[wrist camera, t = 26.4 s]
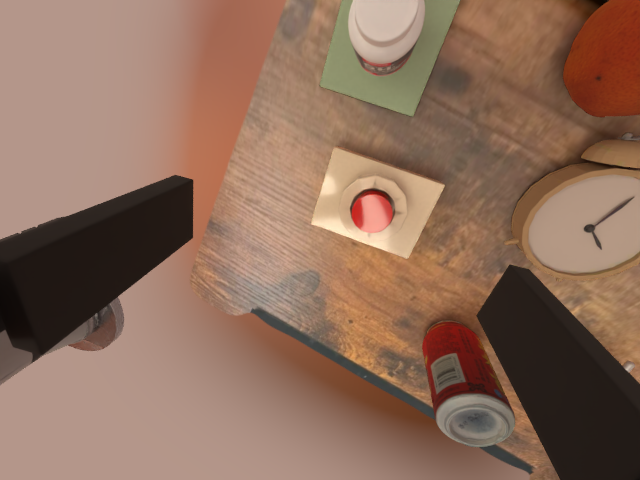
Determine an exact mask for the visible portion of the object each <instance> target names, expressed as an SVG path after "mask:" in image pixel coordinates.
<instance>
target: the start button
mask: <svg viewBox="0 0 640 480" xmlns="http://www.w3.org/2000/svg"><path fill="white" fill-rule="evenodd" d="M392 215H393V212H392V205H391V202H390V200H389V198H388V197H387V196H386V195H385V194H383V193H381V192H379V191H367V192H364V193H362V194H361V195H360V196H359V197H358V198H357V199H356V201H355V203H354V205H353V208H352V220H353V222H354V224H355V225H356V226H357V227H358V228H359V229H360V230H362V231H364V232H367V233H377V232H380V231H382V230H384V229H385V228H386V227H387V226H388V225H389V224H390V222H391V220H392Z"/></svg>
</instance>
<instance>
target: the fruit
mask: <svg viewBox="0 0 640 480" xmlns="http://www.w3.org/2000/svg"><path fill="white" fill-rule="evenodd" d="M563 79H564V83H565V86H566V88H567V90H568V92H569V94H570V96H571V98H572V100H573V101H574V102H575V103H576V104H577V105H578V106H579V107H581V108H582V109H583V110H584V111H585V112H586V113H588V114H590V115H592V116H596V117H605V116H630V115H639V114H640V0H609V1H608V2H606V3H605V4H604V5H602V6H601V7H600V8H598V9H597V10H596V11H595V12H594V13H593V14H592V15H591V16H590V17H589V18H588V19H587V21H586V22H585V24H584V25H583V27H582V28H581V30H580V32H579V33H578V35H577V36H576V38H575V40H574V42H573V44H572V47H571V50H570V54H569V56H568V58H567V60H566V63H565V66H564V74H563Z"/></svg>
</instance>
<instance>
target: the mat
mask: <svg viewBox="0 0 640 480" xmlns="http://www.w3.org/2000/svg"><path fill="white" fill-rule="evenodd" d="M352 2H353V0H342V2H341V5H340V9H339V13H338V17H337V21H336V24H335V28H334V32H333V36H332V40H331V43H330V47H329V51H328V55H327V59H326V62H325V66H324V70H323V74H322V78H321V81H320V85H319V86H320V87H323V88H326V89H329V90H332V91H335V92H338V93H341V94H344V95H347V96H350V97H353V98H356V99H359V100H362V101H365V102H368V103H371V104H374V105H377V106H381V107H384V108H387V109H390V110H393V111H396V112H399V113H402V114H405V115H408V116H411V117H413V115H414V113H415V110H416V108H417V105H418V103H419V100H420V98H421V96H422V93H423V91H424V88H425V86H426V83H427V81H428V78H429V76H430V74H431V71H432V69H433V66H434V64H435V61H436V59H437V56H438V54H439V52H440V49H441V47H442V44H443V42H444V39H445V37H446V34H447V32H448V30H449V27H450V25H451V22H452V20H453V17H454V15H455V12H456V10H457V7H458V5H459V3H460V0H424V3H425V17H424V23H423V27H422V31H421V33H420V36H419V38H418V40H417V42H416V45H415V47H414V49H413V51H412V54H411V56H410V57H409V59H408V61H407V62H406V63H405V65H404V66H403V67H402V68H401V69H400V70H398V71H397V72H395V73H393V74H391V75H388V76H383V77H379V76H374V75H371V74H369V73H368V72H366V71H365V70H364V69H363V68H362V67H361V65H360V64H359V62H358V59H357V57H356V54H355V52H354V49H353V45H352V43H351V40H350V36H349V29H348V18H349V12H350V8H351V5H352Z"/></svg>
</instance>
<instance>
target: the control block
mask: <svg viewBox="0 0 640 480" xmlns="http://www.w3.org/2000/svg"><path fill="white" fill-rule="evenodd" d="M444 187H445V185H444V184H443V183H442V182H441V181H438V180H435V179H432V178H429V177H426V176H424V175H421V174H418V173H415V172H412V171H409V170H406V169H403V168H400V167H397V166H394V165H392V164H389V163H386V162H383V161H380V160H377V159H374V158H371V157H368V156H365V155H362V154H359V153H357V152H354V151H351V150H348V149H345V148H342V147H339V146H336V147H334V148H333V152H332V155H331V158H330V161H329V165H328V168H327V171H326V174H325V178H324V181H323V184H322V187H321V190H320V194H319V197H318V200H317V203H316V207H315V210H314V213H313V216H312V220H311V224H313V225H316V226H318V227H321V228H324V229H327V230H329V231H332V232H335V233H337V234H340V235H343V236H346V237H348V238H351V239H354V240H357V241H359V242H362V243H365V244H368V245H370V246H373V247H376V248H378V249H381V250H384V251H387V252H389V253H392V254H395V255H398V256H400V257H403V258H406V259H408V258H409V256H410V254H411V252H412V250H413V248H414V246H415V244H416V242H417V240H418V238H419V236H420V234H421V232H422V230H423V228H424V226H425V224H426V222H427V220H428V218H429V217H430V215H431V213H432V211H433V209H434V207H435V205H436V203H437V201H438V199H439V197H440V195H441V193H442V191H443V189H444ZM367 191H379V192H381V193H383V194H385V195H386V196H387V197H388V198H389V200H390V202H391V205H392V212H393V215H392V220H391V222H390V224H389V225H388V226H387V227H386V228H385V229H384V230H382V231H380V232H377V233H367V232H364V231H362V230H360V229H359V228H358V227H357V226H356V225H355V224H354V222H353V220H352V208H353V205H354V203H355V201H356V199H357V198H358V197H359V196H360V195H361V194H362V193H364V192H367Z"/></svg>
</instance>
